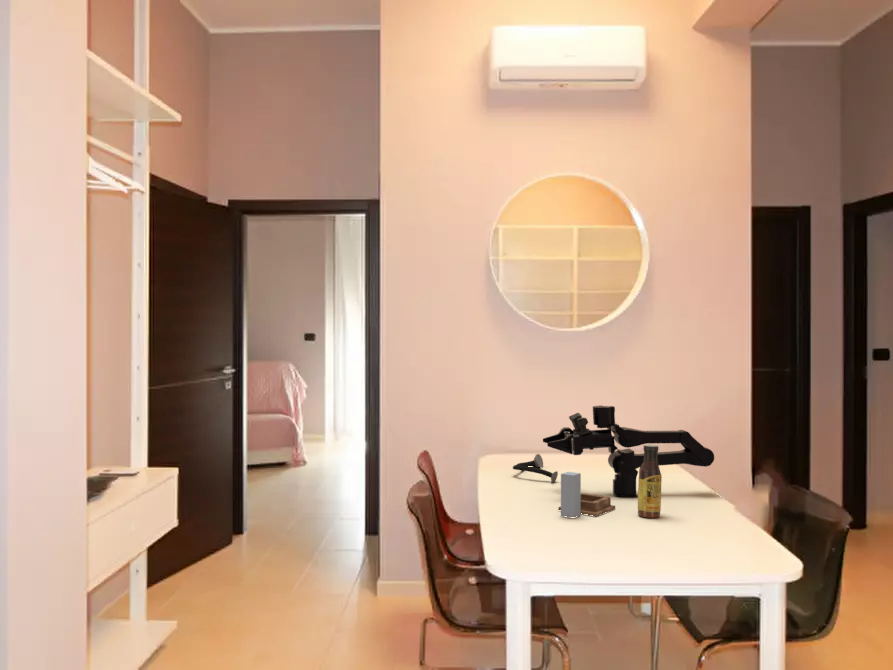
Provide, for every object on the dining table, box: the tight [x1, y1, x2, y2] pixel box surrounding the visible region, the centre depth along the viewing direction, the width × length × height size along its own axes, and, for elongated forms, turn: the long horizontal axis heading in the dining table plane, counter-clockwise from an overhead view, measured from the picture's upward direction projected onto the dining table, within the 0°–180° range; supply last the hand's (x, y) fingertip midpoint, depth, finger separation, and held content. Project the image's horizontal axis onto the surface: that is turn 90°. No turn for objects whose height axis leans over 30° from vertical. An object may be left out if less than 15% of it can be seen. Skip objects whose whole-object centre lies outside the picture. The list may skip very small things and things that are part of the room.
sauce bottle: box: [637, 444, 663, 519], centre depth 218 cm, size 6×6×20 cm
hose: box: [512, 453, 559, 484], centre depth 279 cm, size 34×14×6 cm, turn 3°
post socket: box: [557, 492, 616, 517], centre depth 225 cm, size 12×12×4 cm
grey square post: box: [560, 471, 582, 517], centre depth 217 cm, size 4×4×12 cm
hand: (545, 442), depth 244 cm, fingers open, 9 cm apart
